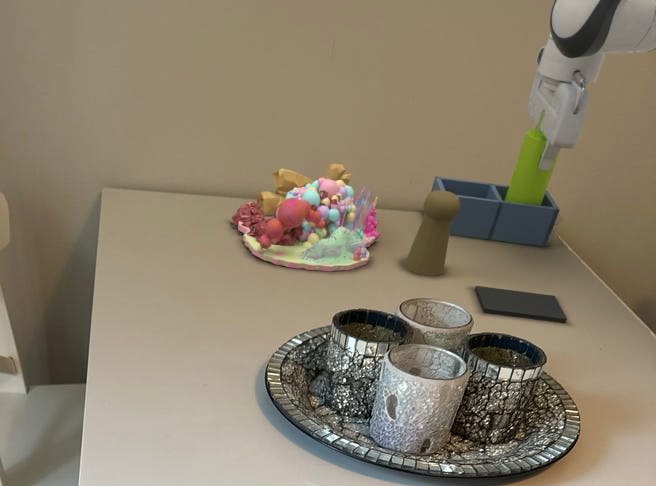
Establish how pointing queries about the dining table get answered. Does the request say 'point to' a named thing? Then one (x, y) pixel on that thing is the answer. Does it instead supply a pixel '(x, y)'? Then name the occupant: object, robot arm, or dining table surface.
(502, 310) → the mat
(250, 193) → the dining table surface
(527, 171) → the soap dispenser
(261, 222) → the candy landscape model
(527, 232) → the box
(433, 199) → the olive game pawn
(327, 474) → the dining table surface
